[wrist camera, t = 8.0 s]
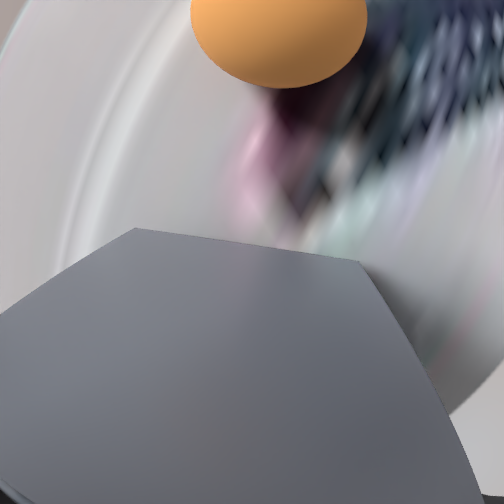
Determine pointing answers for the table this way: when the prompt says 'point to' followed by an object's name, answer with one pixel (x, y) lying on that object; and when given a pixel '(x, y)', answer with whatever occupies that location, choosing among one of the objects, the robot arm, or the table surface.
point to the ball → (279, 38)
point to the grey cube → (218, 384)
